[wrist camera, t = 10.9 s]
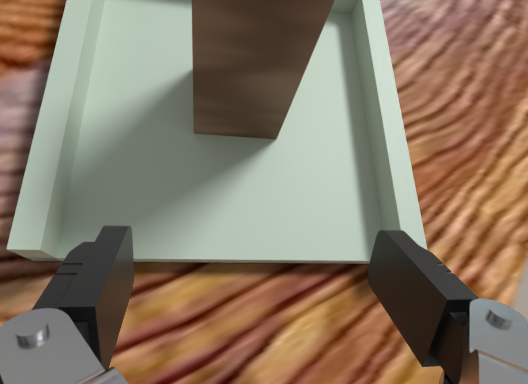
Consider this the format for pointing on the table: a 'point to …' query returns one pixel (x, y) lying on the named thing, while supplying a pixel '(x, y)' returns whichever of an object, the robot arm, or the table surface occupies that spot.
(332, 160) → the tray
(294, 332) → the table surface
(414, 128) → the table surface
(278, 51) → the block
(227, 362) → the table surface
